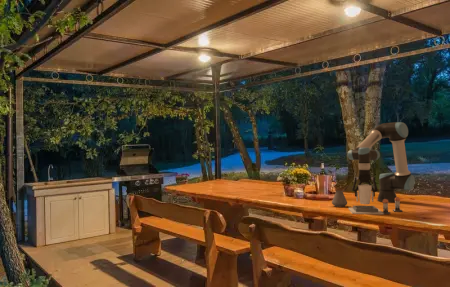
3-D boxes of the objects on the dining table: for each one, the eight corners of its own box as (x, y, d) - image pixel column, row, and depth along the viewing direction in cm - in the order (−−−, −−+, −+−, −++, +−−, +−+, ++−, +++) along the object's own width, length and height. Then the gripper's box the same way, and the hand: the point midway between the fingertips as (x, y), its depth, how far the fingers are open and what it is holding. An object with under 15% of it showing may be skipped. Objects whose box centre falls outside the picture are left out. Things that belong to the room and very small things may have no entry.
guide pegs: (379, 213, 255) (378, 198, 255) (395, 210, 266) (395, 196, 266) (387, 214, 250) (386, 199, 250) (404, 211, 261) (403, 197, 261)
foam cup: (356, 204, 262) (355, 185, 262) (359, 202, 269) (359, 184, 269) (370, 205, 256) (370, 186, 256) (373, 203, 264) (373, 184, 264)
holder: (348, 208, 275) (348, 204, 275) (377, 209, 271) (377, 205, 271) (352, 214, 255) (352, 209, 255) (383, 214, 251) (383, 210, 251)
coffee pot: (342, 208, 279) (342, 187, 279) (328, 206, 287) (328, 186, 287) (356, 204, 294) (356, 185, 294) (342, 203, 302) (342, 184, 302)
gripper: (348, 169, 261) (349, 201, 261) (382, 169, 257) (382, 202, 257) (347, 169, 269) (347, 200, 269) (379, 169, 265) (380, 200, 265)
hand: (364, 201), depth 263 cm, fingers closed on foam cup, 9 cm apart
